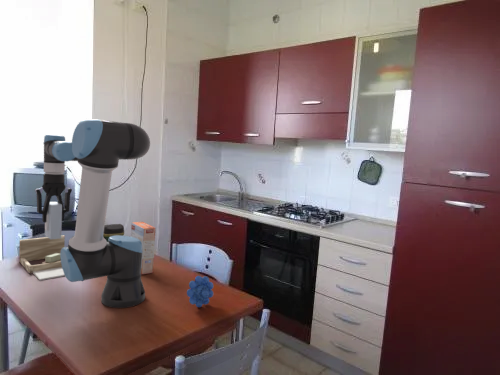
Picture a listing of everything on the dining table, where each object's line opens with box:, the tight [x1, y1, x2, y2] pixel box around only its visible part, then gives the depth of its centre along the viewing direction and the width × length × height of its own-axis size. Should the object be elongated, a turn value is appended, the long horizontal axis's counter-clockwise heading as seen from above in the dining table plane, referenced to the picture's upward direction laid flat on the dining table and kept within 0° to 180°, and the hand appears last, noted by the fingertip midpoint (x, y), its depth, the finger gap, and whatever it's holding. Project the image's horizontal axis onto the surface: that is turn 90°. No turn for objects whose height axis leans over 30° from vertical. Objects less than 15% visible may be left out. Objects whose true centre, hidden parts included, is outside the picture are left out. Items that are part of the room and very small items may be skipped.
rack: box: [18, 234, 66, 274], centre depth 160 cm, size 18×18×10 cm
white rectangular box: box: [44, 201, 63, 239], centre depth 147 cm, size 8×4×14 cm, turn 44°
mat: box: [32, 267, 65, 281], centre depth 149 cm, size 10×12×1 cm
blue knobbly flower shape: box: [186, 275, 214, 308], centre depth 128 cm, size 12×7×12 cm, turn 134°
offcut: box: [44, 253, 61, 263], centre depth 158 cm, size 3×6×2 cm, turn 163°
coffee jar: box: [103, 223, 125, 242], centre depth 167 cm, size 10×8×19 cm
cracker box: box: [130, 221, 157, 276], centre depth 162 cm, size 14×6×21 cm, turn 39°
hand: (53, 229), depth 148 cm, fingers closed on white rectangular box, 4 cm apart
